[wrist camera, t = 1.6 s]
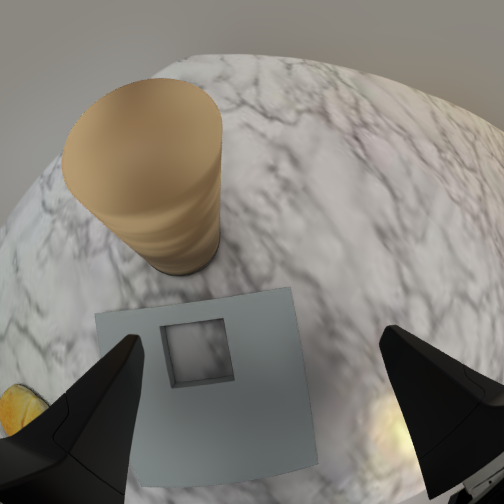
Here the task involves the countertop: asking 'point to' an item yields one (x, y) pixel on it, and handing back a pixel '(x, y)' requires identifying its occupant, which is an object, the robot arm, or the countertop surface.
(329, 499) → the countertop surface
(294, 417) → the slate board
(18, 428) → the bread roll
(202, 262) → the oak leg
